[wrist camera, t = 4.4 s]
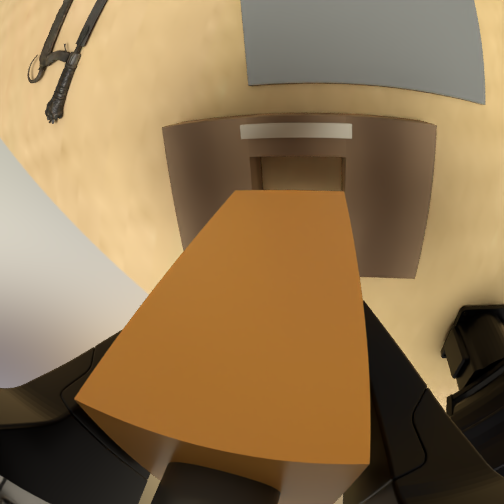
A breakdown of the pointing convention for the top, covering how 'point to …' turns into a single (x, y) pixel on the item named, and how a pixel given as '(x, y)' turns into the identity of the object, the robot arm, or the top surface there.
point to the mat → (366, 44)
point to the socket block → (314, 144)
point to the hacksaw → (64, 57)
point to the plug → (247, 360)
